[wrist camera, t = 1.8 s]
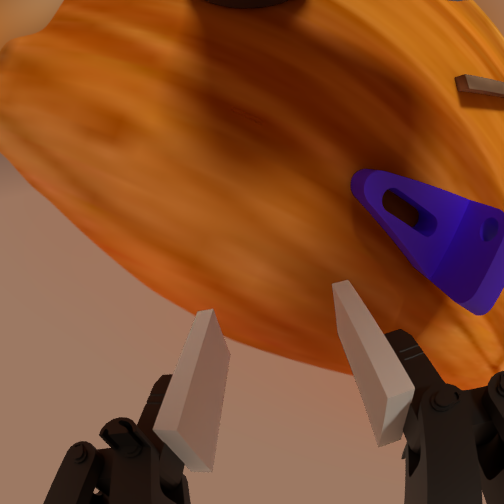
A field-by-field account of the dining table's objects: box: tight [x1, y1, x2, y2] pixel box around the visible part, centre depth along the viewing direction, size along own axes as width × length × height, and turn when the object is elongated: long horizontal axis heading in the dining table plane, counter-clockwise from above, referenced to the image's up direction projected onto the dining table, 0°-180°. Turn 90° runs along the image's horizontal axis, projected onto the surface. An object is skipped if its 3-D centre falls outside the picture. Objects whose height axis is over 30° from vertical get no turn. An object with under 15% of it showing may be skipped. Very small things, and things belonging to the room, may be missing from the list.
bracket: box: [351, 169, 504, 315], centre depth 23 cm, size 18×11×12 cm, turn 65°
